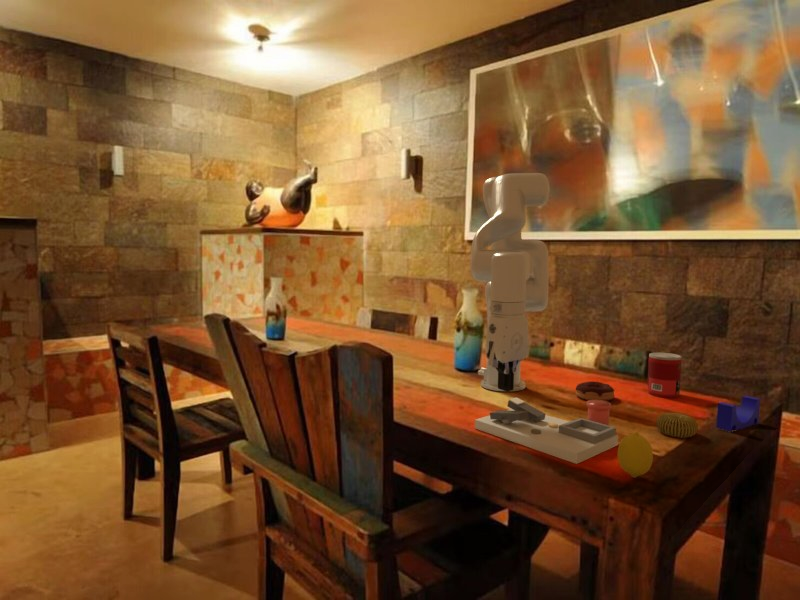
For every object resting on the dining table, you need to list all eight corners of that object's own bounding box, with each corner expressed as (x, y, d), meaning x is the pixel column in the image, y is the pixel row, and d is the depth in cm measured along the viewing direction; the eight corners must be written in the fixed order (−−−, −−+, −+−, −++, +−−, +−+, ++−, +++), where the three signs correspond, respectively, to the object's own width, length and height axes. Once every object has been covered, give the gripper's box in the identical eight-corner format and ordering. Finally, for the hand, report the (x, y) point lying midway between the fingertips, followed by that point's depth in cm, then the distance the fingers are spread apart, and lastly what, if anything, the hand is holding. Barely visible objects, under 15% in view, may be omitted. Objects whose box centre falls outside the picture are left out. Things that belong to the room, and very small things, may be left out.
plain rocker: (491, 423, 114) (489, 412, 114) (500, 420, 116) (498, 410, 116) (520, 424, 108) (518, 413, 108) (529, 422, 110) (527, 411, 110)
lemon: (610, 471, 93) (612, 427, 92) (640, 470, 93) (642, 426, 93) (626, 485, 88) (628, 438, 87) (658, 484, 88) (660, 437, 87)
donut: (597, 392, 147) (598, 378, 147) (623, 401, 138) (623, 386, 137) (567, 395, 144) (567, 380, 143) (591, 404, 135) (591, 389, 134)
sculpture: (688, 424, 107) (649, 414, 113) (687, 443, 107) (648, 432, 114) (705, 416, 112) (666, 408, 118) (704, 435, 112) (666, 425, 118)
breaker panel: (474, 428, 115) (475, 412, 115) (517, 415, 125) (517, 400, 125) (576, 463, 96) (577, 445, 96) (617, 445, 106) (618, 428, 105)
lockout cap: (581, 429, 115) (582, 402, 115) (593, 424, 118) (594, 398, 118) (602, 435, 111) (603, 407, 111) (614, 430, 115) (615, 403, 114)
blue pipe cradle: (737, 419, 124) (738, 394, 123) (758, 424, 120) (760, 398, 119) (709, 427, 117) (710, 401, 117) (730, 433, 113) (732, 406, 113)
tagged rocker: (506, 410, 118) (508, 399, 118) (514, 407, 120) (517, 397, 120) (535, 426, 113) (537, 415, 112) (543, 423, 114) (546, 412, 114)
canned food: (683, 399, 140) (685, 358, 139) (651, 397, 141) (653, 357, 140) (674, 391, 147) (676, 353, 146) (644, 390, 149) (645, 351, 148)
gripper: (498, 314, 108) (496, 400, 110) (542, 307, 117) (539, 387, 119) (471, 310, 113) (470, 392, 116) (515, 303, 123) (513, 379, 125)
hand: (505, 389), depth 118 cm, fingers closed
